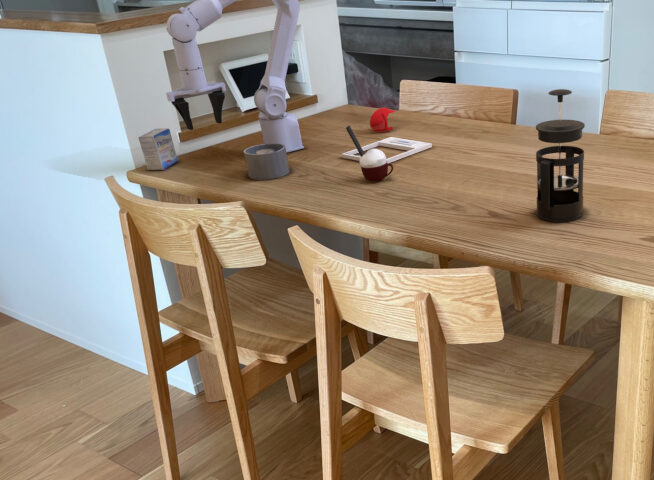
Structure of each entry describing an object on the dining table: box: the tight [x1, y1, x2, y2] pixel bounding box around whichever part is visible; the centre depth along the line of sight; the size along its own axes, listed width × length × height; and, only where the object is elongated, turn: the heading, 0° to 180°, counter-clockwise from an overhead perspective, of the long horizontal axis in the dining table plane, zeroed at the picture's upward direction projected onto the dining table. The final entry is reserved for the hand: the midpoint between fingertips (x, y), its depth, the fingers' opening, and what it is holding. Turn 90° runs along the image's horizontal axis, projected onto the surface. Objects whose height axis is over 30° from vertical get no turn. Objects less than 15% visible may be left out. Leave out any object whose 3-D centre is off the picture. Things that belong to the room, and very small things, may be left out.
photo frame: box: [341, 136, 433, 164], centre depth 193 cm, size 15×1×18 cm
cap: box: [369, 107, 395, 133], centre depth 212 cm, size 8×6×6 cm
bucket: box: [243, 143, 291, 181], centre depth 182 cm, size 10×10×6 cm
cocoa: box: [345, 125, 394, 183], centre depth 171 cm, size 10×6×12 cm, turn 50°
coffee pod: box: [256, 149, 274, 154], centre depth 182 cm, size 4×4×5 cm
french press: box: [535, 88, 586, 223], centre depth 141 cm, size 12×9×23 cm
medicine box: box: [137, 127, 179, 171], centre depth 194 cm, size 8×4×9 cm, turn 168°
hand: (204, 126), depth 190 cm, fingers open, 7 cm apart
